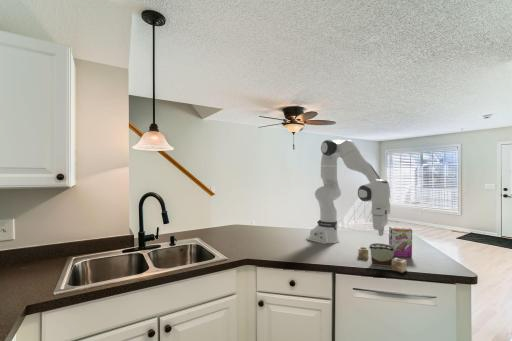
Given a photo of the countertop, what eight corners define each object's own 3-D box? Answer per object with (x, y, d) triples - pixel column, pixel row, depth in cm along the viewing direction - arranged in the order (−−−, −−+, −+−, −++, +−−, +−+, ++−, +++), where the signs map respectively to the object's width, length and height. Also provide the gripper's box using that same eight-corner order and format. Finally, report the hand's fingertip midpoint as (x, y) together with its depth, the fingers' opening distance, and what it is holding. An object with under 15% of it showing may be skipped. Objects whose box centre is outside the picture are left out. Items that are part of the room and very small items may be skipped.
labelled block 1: (358, 257, 143) (358, 248, 143) (359, 255, 147) (359, 246, 147) (368, 259, 141) (368, 249, 141) (368, 256, 145) (368, 247, 145)
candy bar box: (391, 256, 144) (391, 228, 144) (388, 253, 149) (388, 226, 149) (412, 258, 142) (412, 229, 142) (409, 255, 146) (409, 227, 146)
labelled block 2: (391, 269, 126) (391, 259, 126) (395, 267, 129) (395, 256, 129) (402, 272, 122) (402, 262, 122) (406, 270, 125) (406, 259, 125)
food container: (392, 262, 135) (392, 244, 135) (394, 266, 129) (394, 247, 129) (367, 260, 139) (367, 242, 139) (368, 264, 133) (368, 245, 133)
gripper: (378, 206, 144) (378, 230, 144) (370, 211, 128) (370, 238, 128) (390, 207, 140) (390, 232, 140) (384, 212, 124) (384, 240, 124)
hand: (381, 235), depth 134 cm, fingers closed
